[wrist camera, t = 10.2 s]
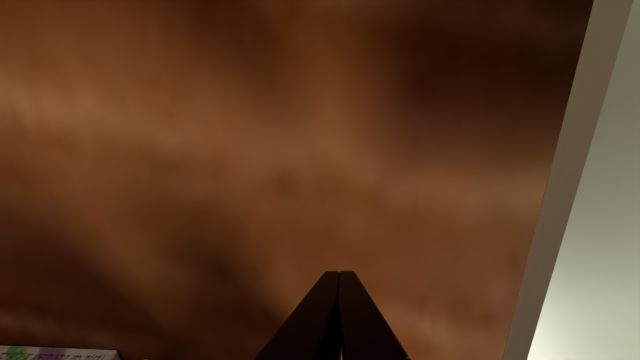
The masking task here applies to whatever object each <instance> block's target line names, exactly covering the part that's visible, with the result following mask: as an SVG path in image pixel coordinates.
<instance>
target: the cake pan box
mask: <svg viewBox="0 0 640 360" xmlns="http://www.w3.org/2000/svg"><path fill="white" fill-rule="evenodd" d="M0 360H120V357H119V354H118V351H117V350H99V349H76V348H49V347H28V346H2V345H0Z"/></svg>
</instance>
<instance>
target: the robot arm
mask: <svg viewBox="0 0 640 360" xmlns="http://www.w3.org/2000/svg"><path fill="white" fill-rule="evenodd" d="M341 350H342V359H343V360H411V359H410V358H409V357H408V355H407V353H406V351H405V350H404V348H403V347H402V345H401V344H400V342H399V340H398V339H397V337H396V336H395V334H394V333H393V331H392V330H391V328H390V326H389V325H388V323H387V322H386V320H385V319H384V317H383V315H382V314H381V312H380V311H379V309H378V308H377V306H376V305H375V303H374V301H373V300H372V298H371V297H370V295H369V294H368V292H367V290H366V289H365V287H364V286H363V284H362V283H361V281H360V280H359V278H358V276H357V275H356V273H355V272H354V271H341V272H340V273H339V272H338V271H326V272H325V273H324V274H323V275H322V276H321V277H320V279H319V280H318V281H317V282H316V284H315V285H314V286H313V287H312V289H311V290H310V291H309V292H308V294H307V295H306V296H305V297H304V298H303V300H302V301H301V302H300V303H299V305H298V306H297V307H296V308H295V310H294V311H293V312H292V313H291V315H290V316H289V317H288V318H287V319H286V321H285V322H284V323H283V324H282V326H281V327H280V328H279V329H278V331H277V332H276V333H275V334H274V336H273V337H272V338H271V339H270V340H269V342H268V343H267V344H266V345H265V347H264V348H263V349H262V350H261V352H260V355H257V356H256V358H255V359H254V360H341Z"/></svg>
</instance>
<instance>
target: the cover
mask: <svg viewBox="0 0 640 360" xmlns="http://www.w3.org/2000/svg"><path fill="white" fill-rule="evenodd" d="M502 360H640V0H594V3H593V7H592V11H591V14H590V18H589V22H588V26H587V30H586V34H585V38H584V42H583V46H582V49H581V53H580V57H579V61H578V65H577V69H576V73H575V77H574V81H573V84H572V88H571V92H570V96H569V100H568V104H567V108H566V112H565V115H564V119H563V123H562V127H561V131H560V135H559V139H558V143H557V147H556V150H555V154H554V158H553V162H552V166H551V170H550V174H549V178H548V182H547V185H546V189H545V193H544V197H543V201H542V205H541V209H540V213H539V217H538V220H537V224H536V228H535V232H534V236H533V240H532V244H531V248H530V252H529V255H528V259H527V263H526V267H525V271H524V275H523V279H522V283H521V287H520V290H519V294H518V298H517V302H516V306H515V310H514V314H513V318H512V322H511V325H510V329H509V333H508V337H507V341H506V345H505V349H504V353H503V356H502Z"/></svg>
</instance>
